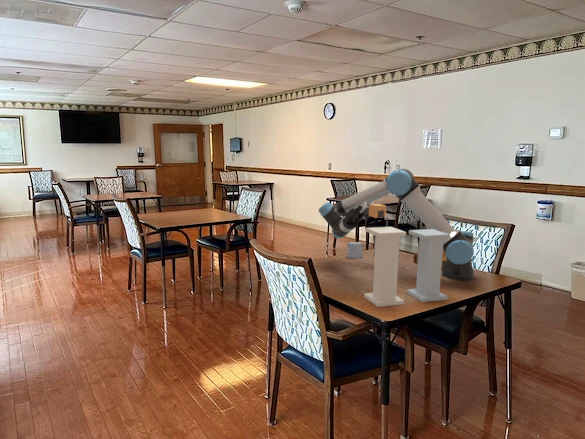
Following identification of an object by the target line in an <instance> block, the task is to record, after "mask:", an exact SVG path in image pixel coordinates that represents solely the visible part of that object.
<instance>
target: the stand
mask: <svg viewBox="0 0 585 439" xmlns="http://www.w3.org/2000/svg"><path fill="white" fill-rule="evenodd" d="M365 232H367V233H369V234H371V235H373V236H375V238H376V242H375V241H374V250H375V251H374V252H375V256H374V264H373V265H374V266H373V284H372V285H373V287H372V292H368V293H363V294H364V295H363V297H364V299H366V300H367V301H369V302H370V303H372V304H373V305H374V306H375V307H377V308H380V307H389V306H401V305H404V304H405V301H404V299H402V298H401V297H399V296H398V295H397V293H398V292H397V290H398V276H399V275H398V274H399V273H398V272H399V258H400V256H399V255H400V241H401V237H406V236H407V232H406V231H404V230H402V229H399V228H395V227H394V226H387V227H386V226H378V227H377V226H375V227H373V226H372V227H365Z"/></svg>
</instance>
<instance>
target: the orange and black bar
mask: <svg viewBox="0 0 585 439" xmlns="http://www.w3.org/2000/svg"><path fill="white" fill-rule="evenodd" d="M368 205H369V206H368ZM368 205H367V208H366V209H365V210H364V211H363V212H362V213H365V214H368V215H369V216H370V217H371V218H374V219H377V218H379V219H380V218H387V205H386V204H381V203H374V204H370V203H369V204H368ZM359 206H361V205H359Z"/></svg>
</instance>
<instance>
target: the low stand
mask: <svg viewBox="0 0 585 439" xmlns="http://www.w3.org/2000/svg"><path fill="white" fill-rule="evenodd" d="M408 234H409V235H411V236H414V237H417V238H419V240H418V253H417V254H418V264H417V269H416V281H415V282H416V285H415V288H408V289H406V293H407V294H408V295H411V296H412V297H413V298H415V299H417V300H418V301H420V302H422V303H427V302H436V301H444V300H448V295H445V294H444V293H443V292H441V289H440V288H441V277H442V271H441V267H442V254H443V241H444V238H450V234H447V233H444V232H440V231H437V230H434V229H429V228H427V229H410V230H408Z"/></svg>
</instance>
